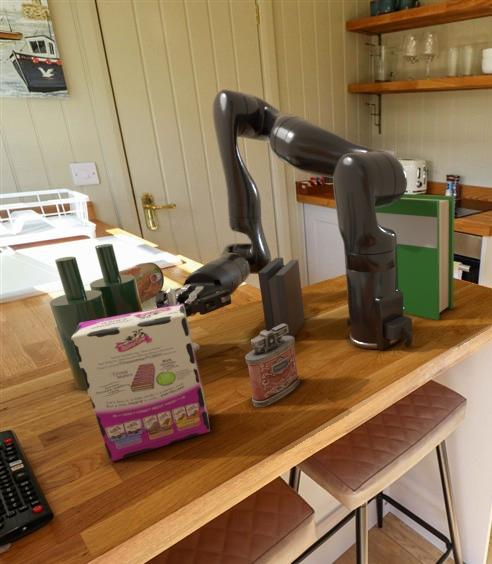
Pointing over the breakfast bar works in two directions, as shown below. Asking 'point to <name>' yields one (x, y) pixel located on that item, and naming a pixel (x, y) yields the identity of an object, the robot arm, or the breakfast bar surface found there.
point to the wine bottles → (91, 301)
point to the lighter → (272, 366)
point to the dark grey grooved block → (282, 295)
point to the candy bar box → (142, 379)
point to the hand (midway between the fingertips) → (165, 319)
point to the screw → (173, 301)
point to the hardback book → (423, 251)
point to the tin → (146, 279)
